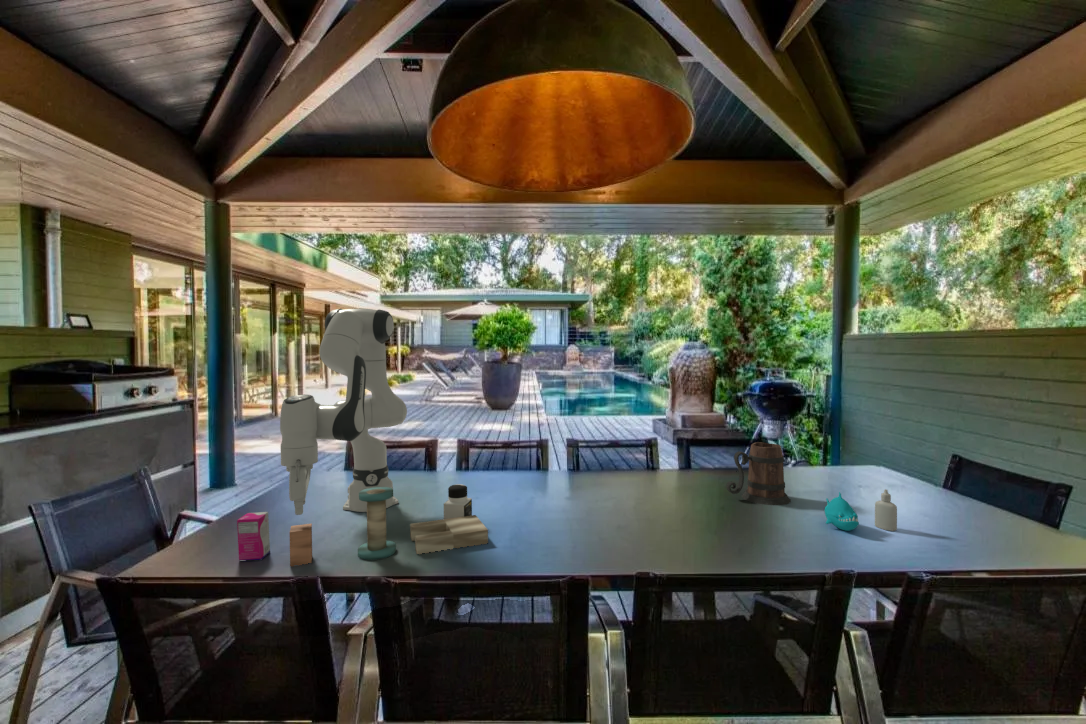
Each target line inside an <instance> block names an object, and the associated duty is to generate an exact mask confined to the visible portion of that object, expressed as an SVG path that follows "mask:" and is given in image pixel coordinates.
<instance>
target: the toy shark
mask: <svg viewBox="0 0 1086 724" xmlns="http://www.w3.org/2000/svg"><path fill="white" fill-rule="evenodd" d="M825 500H826V502H827V505H826V506H824V514H825V517H826V521H825V524H826V525H829V524H831V525H833V526H835V527H836V528H838V529H840V530H841V531H845V532H847V531H849V532H850V531H853V530H855V529H857V528H858V526H859V525H860V522H859V516H858V515H857V512H856V511H855V510H854V508H853V507H852V506H851V505H850V503H849V502H848V501H847V500H846V499H844V498H843V497H842V493H841V492H840V491H839V492H838V496H837V497H834V498H832V499H831V500H830V501H829V499H828V498H827V497H826V498H825Z"/></svg>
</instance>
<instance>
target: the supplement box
mask: <svg viewBox="0 0 1086 724" xmlns="http://www.w3.org/2000/svg"><path fill="white" fill-rule="evenodd" d="M269 524H270V522H269V511H260V512H247V513H246V514H244V515H242V516H241V517H239V518H238V519H237V520H236V525H237V526H236V527H237V547H238V548H237V549H238V561H239V560H261V559H262V560H264V558H266V556H268V555H269V554H270V553H271V542H270V525H269ZM267 554H268V555H267ZM262 560H261V561H262Z"/></svg>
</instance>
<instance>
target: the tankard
mask: <svg viewBox="0 0 1086 724" xmlns="http://www.w3.org/2000/svg"><path fill="white" fill-rule="evenodd" d="M740 456H741V460H742V461H741V464H740V459H739V457H740ZM733 460H734V464H735V466H736V468H737V470H738V474H739V477H738V483H737V484H736V483H735V482H733V481H727V483H726V484H725V485H726V490H727V491H728V492H729V493H731V494H733V495H737V494H739V493H740V492H741V491H742V489H743V487H744V481H745V474H744V469H743V467H742V466H745V465H747V464H748V476H747V478H746V479H747V480H746V481H747V482H746V485H747V489H745V491H744V492H743V493H742V494H741V498H742V499H743V500H745V501H747V502H751V503H754V504H759V505H764V506H765V505H766V506H784V505H789V504H791V503H792V500H791V499H790V498H789V496H788V494H787V493H786V492H785V489H786V482H785V477H784V476H785V473H784V472H785V471H784V462H785V458H784V455H783V451H782V445H780V444H777V443H768V442H759V441H757V442H756V441H755V442H753V443H751V444H750V449H749V452H748V454H747V453H746V452H743V451H740V450H739V451H736V452H735V453H734V454H733Z"/></svg>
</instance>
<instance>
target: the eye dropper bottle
mask: <svg viewBox="0 0 1086 724" xmlns="http://www.w3.org/2000/svg"><path fill="white" fill-rule="evenodd" d="M891 499H892V495H891V494H890V493H889V491H888V489H886V488H885V489H884V490H883V492H882V493H881V495H880V500H877V501H875V502H874V526H875V527H876V528H878V529H881V530H883V531H884V530H885V531H889V532H894V531H897V530H898V506H897V504H895V503H893V502H892V501H891Z"/></svg>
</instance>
